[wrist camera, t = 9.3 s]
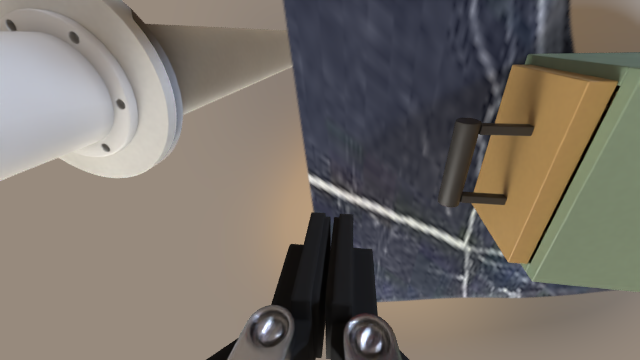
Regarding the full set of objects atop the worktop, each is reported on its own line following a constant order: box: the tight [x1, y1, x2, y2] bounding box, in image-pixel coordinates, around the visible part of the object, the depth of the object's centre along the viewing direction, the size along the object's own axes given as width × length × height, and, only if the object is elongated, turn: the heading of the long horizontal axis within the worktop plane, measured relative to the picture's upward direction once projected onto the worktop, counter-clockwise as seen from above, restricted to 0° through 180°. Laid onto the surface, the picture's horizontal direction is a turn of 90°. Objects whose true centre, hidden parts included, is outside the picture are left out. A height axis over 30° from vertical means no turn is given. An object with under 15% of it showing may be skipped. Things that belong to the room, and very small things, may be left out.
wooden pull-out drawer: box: [438, 65, 620, 264], centre depth 17 cm, size 18×11×7 cm, turn 91°
